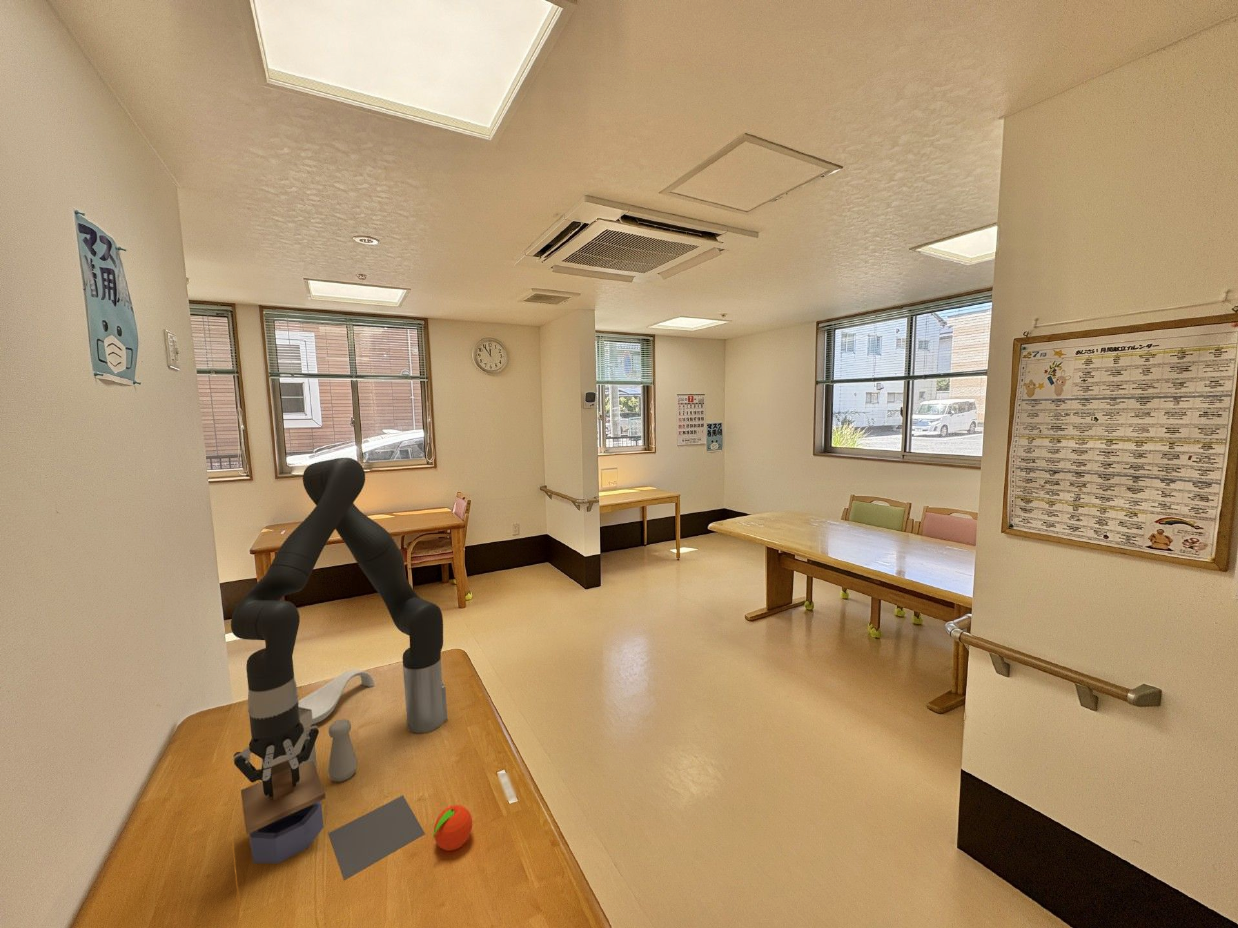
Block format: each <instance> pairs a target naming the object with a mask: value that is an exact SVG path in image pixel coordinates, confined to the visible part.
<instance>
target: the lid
mask: <svg viewBox="0 0 1238 928" xmlns="http://www.w3.org/2000/svg"><path fill="white" fill-rule="evenodd" d="M299 775H300V780H299V782H297V783H296V786H295V787H293V786H292V775H291V767H290V763H289V760H286V761H284V762H281V763H279V764H276V765H274V766H272V767H271V778H272V787H273V796H272V797H269V795H267V796H265V794H264V791H263V782H262V781H259V782H256V783H255V784H252V785H249V786H247V787H244V788H242V789H240V794H241V795H240V796H241V805H242V810H243V818H244V819H243V820H244V826H245V833H246V835H248V834H249V833H251V832H253V831H256V830H258V829H260V828H262V827H264V826H266V825H269V824H271V823H273V822H275V821H277V820H279V819H282V818H284V817H286V816H288V815H290V814H293V813H295V812H297V811H299V810H301V809H303V808H306V807H308V806H310V805H312V804H314V803H317V802H319V801H320V802H321V801H323V800H326V793H325V790H324V786H323V785H322V780H321V779H320V776H319V773H318V769H317V770H316V767H315V764H314V762H313V761H311V762H308V763H306V764H303V765H301V766H299Z"/></svg>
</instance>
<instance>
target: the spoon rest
mask: <svg viewBox="0 0 1238 928" xmlns="http://www.w3.org/2000/svg"><path fill="white" fill-rule="evenodd" d="M359 676H360V679H361V684H362V686H365V687H370V688H372V687H374V686H375V681H374V679H373V677H372V676H371V674H369V673H368V672H366V671H361V670H360V669H352V670H348V671H345V672H343V673H341V674H339V675H338V676H337V677H335V678H333V679H332V680H331V681H329V682H328V683H326V684H324V685H322V686H321V687H320V688H317V689H316V690H315V691H312V692H311V693H309V694H308V695H305V696H304V697H303V698H301V699H298V701H299V704H298V705H299V707H302V708H306V709H311V710H312V718H313V724H316V725H317V724H319V723H320V722H322V721H324V720H326V719H327V718H328V717H329V715H330V714H332V712H333V711H334V709H335V708H336V707H337V703H338V702H339V701H340V698H341V696H342V693H343V692H344V690H345V688H346V686H347V684H348V683H349V681H351V679H352V678H354V677H359Z"/></svg>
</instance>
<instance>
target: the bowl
mask: <svg viewBox="0 0 1238 928" xmlns="http://www.w3.org/2000/svg"><path fill="white" fill-rule="evenodd" d="M322 808H323V807H322V803H321V801H319V802H317V803H314V804H312V805H310V806H308V807H306V808H303V809H301V810H299V811H297V812H295V813H293V814H290V815H288V816H286V817H284V818H282V819H279V820H277V821H275V822H273V823H271V824H269V825H266V826H264V827H262V828H260V829H258V830H256V831H253V832H251V833H249V843H250V851H251V859H252V863H253V864H271V865H273V864H276V865H278V864H280V863H281V862H284V861H285V860H287V859H289V858H291V857H293V856H295V855H297V854H298V853H301V852H303V851H305V850H307V849H308V848H309V846H311V844H312V843H313V841H315V839H316V838H317V837H318V835H319V834H320V833H321V831H322V830H323V829H324V822H323V821H324V818H323V809H322Z"/></svg>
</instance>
